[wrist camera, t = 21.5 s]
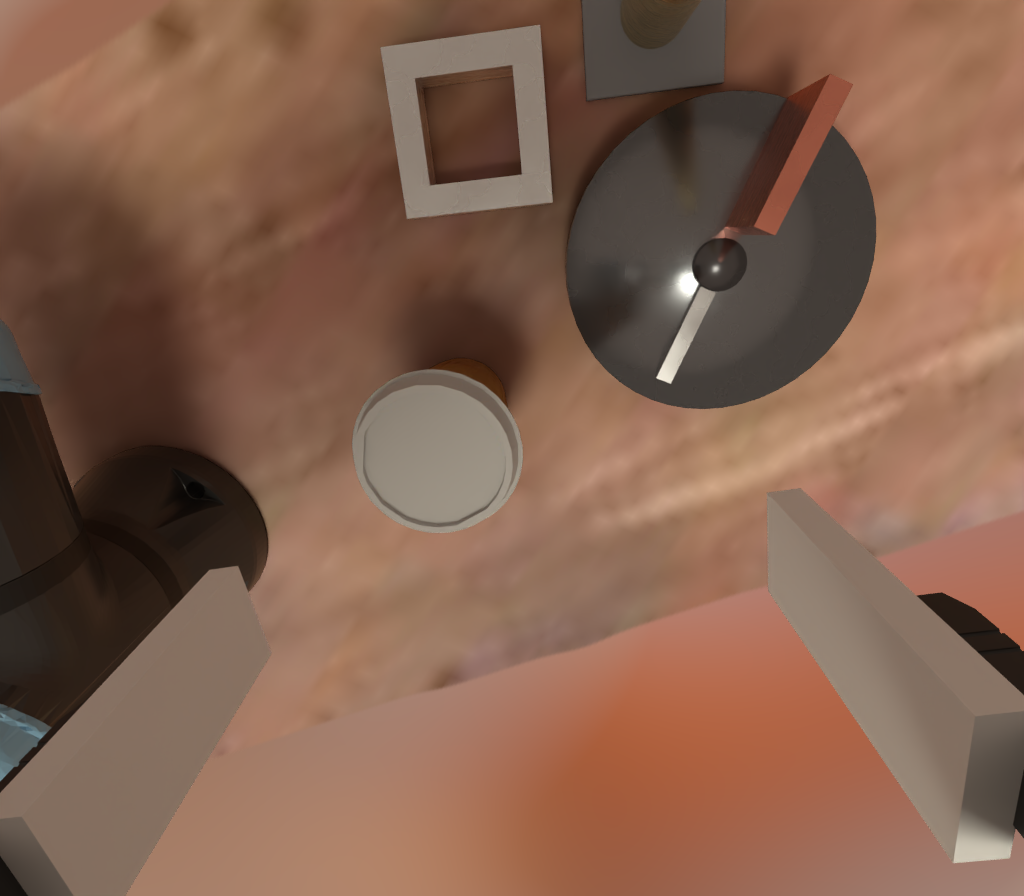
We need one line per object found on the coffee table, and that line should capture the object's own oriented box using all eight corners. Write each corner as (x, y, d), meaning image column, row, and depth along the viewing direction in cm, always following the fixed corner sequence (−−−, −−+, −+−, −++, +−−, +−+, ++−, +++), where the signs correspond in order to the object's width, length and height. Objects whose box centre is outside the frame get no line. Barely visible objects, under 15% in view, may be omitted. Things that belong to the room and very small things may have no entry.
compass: (764, 437, 40) (807, 477, 33) (524, 343, 38) (519, 366, 32) (919, 170, 34) (1010, 155, 27) (639, 46, 32) (663, -1, 26)
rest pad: (586, 101, 35) (586, 99, 34) (578, -64, 32) (578, -67, 31) (722, 83, 34) (723, 82, 33) (725, -86, 31) (728, -90, 31)
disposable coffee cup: (447, 307, 39) (408, 337, 28) (554, 390, 41) (558, 450, 30) (373, 410, 42) (312, 474, 31) (476, 484, 44) (453, 570, 33)
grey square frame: (415, 219, 37) (406, 218, 35) (391, 59, 34) (380, 47, 32) (552, 203, 37) (552, 202, 34) (540, 38, 34) (540, 24, 31)
